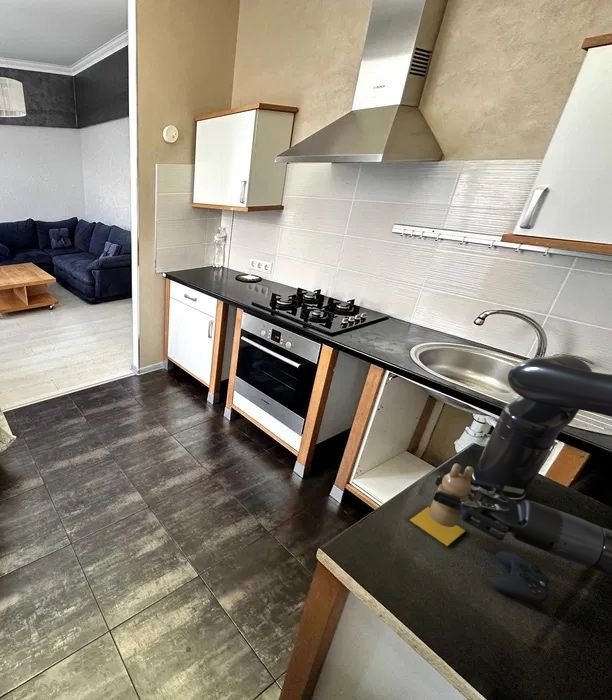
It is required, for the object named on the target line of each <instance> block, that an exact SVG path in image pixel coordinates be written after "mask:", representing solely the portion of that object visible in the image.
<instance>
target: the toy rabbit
mask: <svg viewBox="0 0 612 700" xmlns="http://www.w3.org/2000/svg"><path fill="white" fill-rule="evenodd" d="M474 469H475V467H472V466H469V465H468V466H466V468H465V469H464V471H463V474H462V473H460V472H461V470H462V465H461V464H459V463H454V464H453V465H452V467H451V470H450V472H448V473H447V474H445V475H444V476H443V480H442V484H440V485H439V486H437V487H438V488H437V490H439V491H442V492H445V493H447V494H450V495H453V496H455V497H458V498H460V501H462V500H465V501H469V499H468V494H469V493H470V494H471V492H470V491H471V488H472V487H471V483H470V479H472V478H471V477H472V475H473V473H474ZM429 508H430V509H429V516H430V517H431V518H432V519H433V520H434V521H435V522H437V523H438V524H440V525H443V526H446V527H454V526H456V525H458V524H457V523H458V521H459V519H460V518H461V516H462V515H461V514H460V513H458V512H457V510H456V509H453V508H451V507H448V506H446V505H443V504H440V503H439V502H437V501H435V500H434V499H433V500H432V502H431V504H430V507H429Z"/></svg>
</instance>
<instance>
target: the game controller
mask: <svg viewBox="0 0 612 700" xmlns="http://www.w3.org/2000/svg"><path fill="white" fill-rule="evenodd" d="M495 556H496V559H497V560H498V561H499V562H501V563H502V564H503V565H505V566H507V567H508V568H510V575H506V576H502V577H499V578H495V579H492V581H490V582H491V583H490V584H491V587H492V589H494V590H495V591H497V592H499V593H501V594H504V595H506V596H508V597H509V596H510V597H513V598H517V599H521V600H524V601H527V602H529V604H531V605H532V606H537V607H539V608H542V606H543V605H542V604H543V603H544V602H546V601H547V600H548V599H549V594H548V583H549V582H550V580H549V578H548V576H547V575H546V574H545V572H543V571H542V569H541V567H540V566H538V565H536V564H532V563H530V562H529V561H526V560H525V559H523V558H521V557H520V556H517V555H516V554H514V553H511V552H508V551H498V552H497V553H496V554H495Z"/></svg>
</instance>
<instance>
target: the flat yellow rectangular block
mask: <svg viewBox="0 0 612 700" xmlns="http://www.w3.org/2000/svg"><path fill="white" fill-rule="evenodd" d="M429 509H430V507H429V506H427V507H426V508H425V509H423V510H421V511H420V512H419V513H418V514H416V515H414V516H413V517H412V518H410V520H409V521H410V522H411V523H412V524H414V525H416V526H417V527H418V528H420V529H421V530H422V531H425V532H426V533H427V534H429V535H430V536H432V537H433V538H435V539H436V540H437V541H439V542H440V543H441V544H443V545H445V546H446V547H448V546H450V545H451V544H453V542H455V541H456V540H457V539H458V538H459V537H461V536H462V535H463V534H464V533H465V532H466V529H464V528H463V527H461V526H459V525H458V524H456V526H454V527H446V526H443V525H440V524H438V523H437V522H435V521H434V520H433V519H432V518H431V517H430V516H429Z"/></svg>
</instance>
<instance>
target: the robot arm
mask: <svg viewBox="0 0 612 700" xmlns="http://www.w3.org/2000/svg"><path fill="white" fill-rule="evenodd" d="M507 382H508V385H509V386H510V388H511V390H512V391H513V392H514V393H516V394H517V395H518V397H517V398H516V399H515V400H513V401H511V402H510V403H508V404H507V405H505V406H504V407H503V409H502V411H501V413H500V415H499V417H498V419H497V421H496V423H495V426H494V428H493V430H492V432H491V434H490V437H489V439H488V440H487V442H486V443H485V445H484V448H483V450H482V452H481V455H480V457H479V459H478V461H477V464H476V465H475V467H474V473H473V475H472V477H471V479H470V483H471V487H472V488H471V491H470V493H469V494H468V500H467V501H465V500H462V501H460V498H458V497H455V496H453V495H450V494H447V493H445V492H442V491H439V490H438V489H436V490H435V492H434V494H433V500H435V501H437V502H439V503H440V504H443V505H446V506H448V507H451V508H453V509H456V510H457V512H458V513H460V514H461V515H460V519H461V521H462V522H464V523H466V524H468V525H470V526H472V527H474V528H476V529H477V530H478V531H479V530H480V531H481V532H483V533H484V534H487V535H488V536H490V537H492V538H494V539H496V540H498V541H503V540H504V538H505V537H506V535H507V533H510V534H511V536H512V538H514V539H515V540H517V541H518V542H521V543H524V544H527V545H529V546H531V547H535V548H536V549H539V550H541V551H544V552H546V553H549V554H552V555H553V556H556V557H558V558H561V559H564V560H567V561H568V562H573V563H575V564H578V565H579V564H580V565H582V566H585V567H589V568H591V569H593V570H595V571H598V572H599V573H600V572H601V573H603V574H604V575H605V574H606V575H608V576H611V577H612V530H611V529H608V528H605V527H602V526H600V525H597V524H594V523H592V522H591V521H588V520H585V519H583V518H581V517H578V516H576V515H572V514H570V513H566V512H564V511H561V510H558V509H556V508H554V507H550V506H547V505H545V504H541V503H539V502H535V501H532V500H530V499H524V498H525V497H526V495H527V492H528V490H529V489H530V487H531V485H532V483H533V482H534V479H535V477H536V476H537V474H538V472H539V470H540V469H541V468H542V465H543V463H544V461H545V460H546V458H547V456H548V454H549V453H550V451H551V449H552V447H553V444H554V443H555V442H556V440H557V438H558V436H559V435H560V433H561V431H562V430H564V429H565V428H566V427H567V426H568V425H570V424H571V423H572V422H573V420H574V419H575V417H577V416H576V415H577V414H578V412H579V411H584V412H588V413H589V412H590V413H594V414H598V415H603V416H606V417H609V418H612V374H610V373H603V372H596V371H593V370H592V369H591V367H590V366H589V365H588V364H587V363H586V362H585V361H584V360H581V359H580V358H578V357H575V356H572V355H567V354H566V355H565V354H564V355H563V354H560V355H559V354H558V355H546V356H540V357H539V356H538V357H533V358H529V359H525V360H522V361H520V362H518V363H517V364H515V365H514V366H512V367H511V369H510V370H509V372H508V373H507ZM443 477H444V476H443V475H440V474H439V475H437V476H436V479H435V482H434V484H435V486H436V487H439V485H440V484H442V480H443Z"/></svg>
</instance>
